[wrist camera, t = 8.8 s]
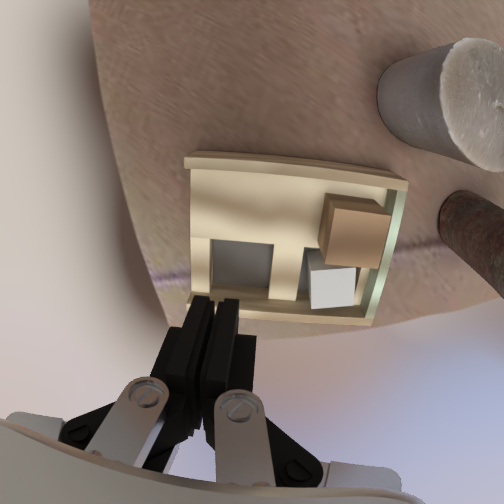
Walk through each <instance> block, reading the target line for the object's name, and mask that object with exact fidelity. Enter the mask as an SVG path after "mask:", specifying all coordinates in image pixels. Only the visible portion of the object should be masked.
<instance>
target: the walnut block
mask: <svg viewBox="0 0 504 504" xmlns="http://www.w3.org/2000/svg"><path fill="white" fill-rule="evenodd" d="M390 220H391V215H390V214H389V213H388V212H387V211H386V210H385V209H384V208H383V207H382V206H380V205H379V204H378V203H377V202H376V201H375V200H374V199H368V198H361V197H354V196H347V195H340V194H332V193H325V197H324V204H323V210H322V216H321V222H320V228H319V234H318V240H317V241H318V244H319V248H320V251H321V254H322V257H323V260H324V263H325V264H329V265H340V266H351V267H361V268H372V269H378V267H379V264H380V260H381V256H382V253H383V249H384V245H385V241H386V237H387V233H388V229H389V224H390Z"/></svg>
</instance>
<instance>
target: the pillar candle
mask: <svg viewBox="0 0 504 504" xmlns="http://www.w3.org/2000/svg"><path fill="white" fill-rule="evenodd" d="M377 101H378V109H379V113H380V115H381V118H382V120H383V122H384V124H385V125H386V126H387V128H388V129H389V131H390V132H391V133H392V134H393V135H394V136H396V137H397V138H398V139H400V140H401V141H403V142H405V143H407V144H409V145H410V146H413V147H415V148H419V149H424V150H427V151H430V152H434V153H437V154H440V155H444V156H447V157H450V158H453V159H456V160H459V161H462V162H465V163H468V164H471V165H473V166H476V167H479V168H482V169H484V170H487V171H491V172H502V171H504V48H503V47H501V46H499V45H498V44H496V43H494V42H492V41H489V40H487V39H483V38H467V37H466V38H463V39H462V41H457V42H455V43H451V44H448V45H445V46H441V47H438V48H435V49H432V50H429V51H426V52H423V53H420V54H417V55H414V56H411V57H408V58H405V59H403V60H400V61H397V62H395V63H394V64H392V65H391V66H390V67H388V68H387V69H386V70H385V72H384V73H383V75H382V76H381V78H380V80H379V84H378V92H377Z"/></svg>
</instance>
